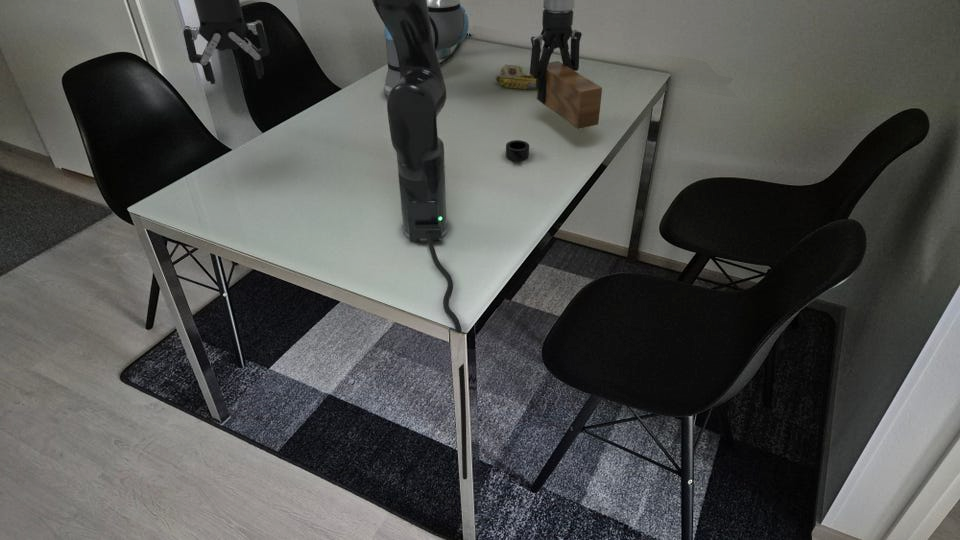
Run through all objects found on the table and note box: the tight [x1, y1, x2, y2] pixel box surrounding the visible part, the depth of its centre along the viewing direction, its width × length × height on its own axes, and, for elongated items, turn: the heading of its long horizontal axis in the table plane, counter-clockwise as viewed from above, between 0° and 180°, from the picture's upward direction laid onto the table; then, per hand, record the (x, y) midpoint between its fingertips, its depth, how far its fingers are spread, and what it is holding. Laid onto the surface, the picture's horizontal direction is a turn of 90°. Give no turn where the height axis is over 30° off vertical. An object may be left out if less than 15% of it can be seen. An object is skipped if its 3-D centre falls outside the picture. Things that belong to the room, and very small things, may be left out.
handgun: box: [495, 64, 537, 90], centre depth 196 cm, size 2×23×15 cm
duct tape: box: [505, 139, 530, 163], centre depth 157 cm, size 8×10×3 cm
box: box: [536, 60, 603, 130], centre depth 161 cm, size 21×6×10 cm, turn 24°
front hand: (236, 80), depth 121 cm, fingers open, 8 cm apart
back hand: (552, 99), depth 169 cm, fingers closed on box, 6 cm apart
